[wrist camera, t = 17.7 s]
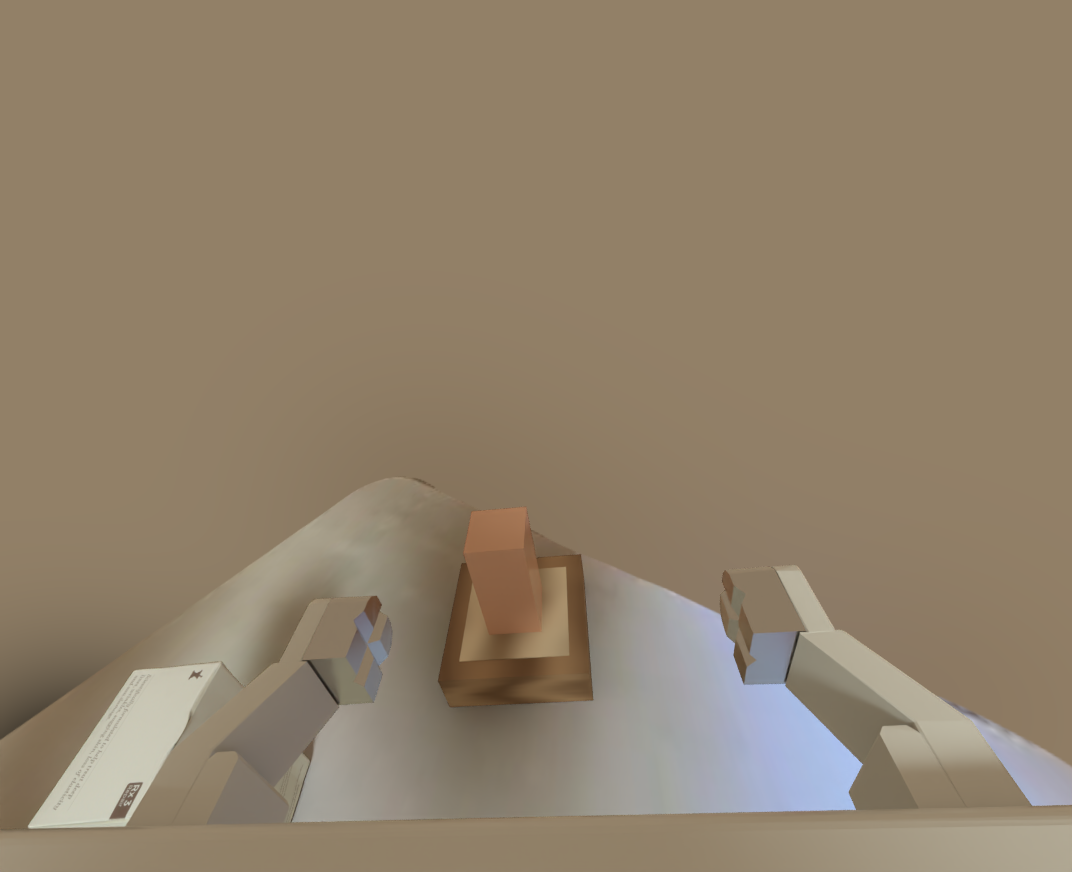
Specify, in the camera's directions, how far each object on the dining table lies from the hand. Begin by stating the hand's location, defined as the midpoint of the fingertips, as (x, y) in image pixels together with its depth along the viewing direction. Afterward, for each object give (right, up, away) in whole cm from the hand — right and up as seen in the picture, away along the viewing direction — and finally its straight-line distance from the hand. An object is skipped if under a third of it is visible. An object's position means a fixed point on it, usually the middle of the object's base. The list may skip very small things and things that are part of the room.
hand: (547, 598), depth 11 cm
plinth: (-1, -15, +33) cm, 36 cm away
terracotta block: (-2, -12, +31) cm, 33 cm away
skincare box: (-21, -25, +23) cm, 40 cm away
